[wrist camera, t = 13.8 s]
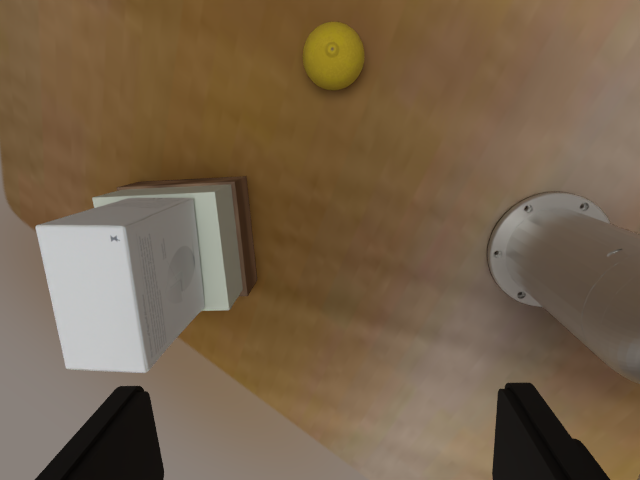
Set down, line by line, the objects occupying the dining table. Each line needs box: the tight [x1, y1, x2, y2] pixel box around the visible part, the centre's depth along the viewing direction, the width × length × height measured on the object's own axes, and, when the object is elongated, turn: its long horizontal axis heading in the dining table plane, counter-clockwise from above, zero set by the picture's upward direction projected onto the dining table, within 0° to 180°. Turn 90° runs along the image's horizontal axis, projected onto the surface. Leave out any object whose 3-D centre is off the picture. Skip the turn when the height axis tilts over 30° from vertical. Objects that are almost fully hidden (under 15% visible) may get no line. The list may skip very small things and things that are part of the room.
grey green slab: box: [92, 184, 243, 311], centre depth 39 cm, size 11×11×5 cm
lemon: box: [303, 22, 364, 90], centre depth 36 cm, size 6×6×8 cm
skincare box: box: [36, 198, 205, 373], centre depth 31 cm, size 10×6×10 cm, turn 1°
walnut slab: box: [117, 176, 257, 296], centre depth 44 cm, size 12×12×5 cm
